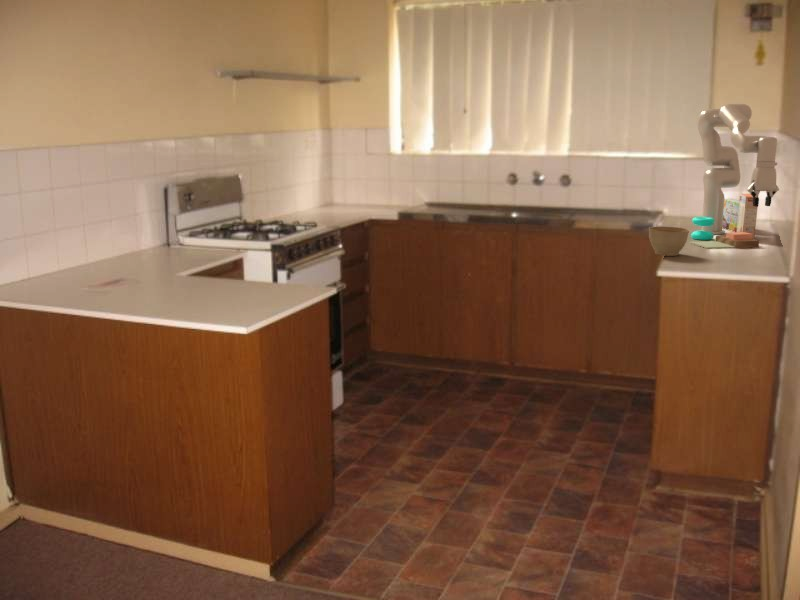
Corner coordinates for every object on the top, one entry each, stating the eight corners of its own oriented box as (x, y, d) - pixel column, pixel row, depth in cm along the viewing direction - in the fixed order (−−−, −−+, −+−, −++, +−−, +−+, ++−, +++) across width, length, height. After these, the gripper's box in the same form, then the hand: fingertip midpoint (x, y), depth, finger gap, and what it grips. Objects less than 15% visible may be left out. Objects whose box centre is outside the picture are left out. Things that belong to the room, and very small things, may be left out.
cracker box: (755, 242, 387) (759, 196, 382) (741, 241, 388) (745, 196, 383) (749, 237, 400) (753, 193, 395) (735, 237, 401) (739, 193, 397)
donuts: (719, 218, 391) (701, 219, 388) (717, 240, 393) (699, 241, 390) (705, 216, 400) (687, 216, 397) (704, 236, 402) (686, 237, 399)
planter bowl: (676, 259, 343) (678, 232, 340) (640, 254, 354) (641, 229, 351) (693, 254, 354) (695, 228, 352) (657, 250, 365) (659, 225, 363)
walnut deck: (715, 242, 386) (715, 235, 385) (737, 241, 388) (738, 235, 387) (735, 248, 370) (735, 241, 369) (758, 247, 371) (758, 240, 371)
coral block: (726, 237, 380) (726, 232, 380) (744, 236, 382) (745, 232, 381) (733, 239, 374) (733, 234, 374) (752, 238, 376) (752, 234, 375)
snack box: (720, 227, 433) (722, 198, 429) (730, 227, 433) (733, 198, 430) (739, 233, 412) (742, 203, 409) (750, 233, 412) (753, 203, 409)
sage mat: (689, 243, 384) (689, 241, 383) (715, 242, 385) (716, 241, 385) (707, 248, 368) (707, 247, 368) (734, 247, 370) (734, 246, 370)
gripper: (778, 164, 377) (774, 204, 381) (743, 164, 375) (739, 205, 379) (788, 165, 370) (784, 206, 374) (752, 165, 367) (748, 207, 371)
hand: (761, 205), depth 376 cm, fingers open, 5 cm apart
